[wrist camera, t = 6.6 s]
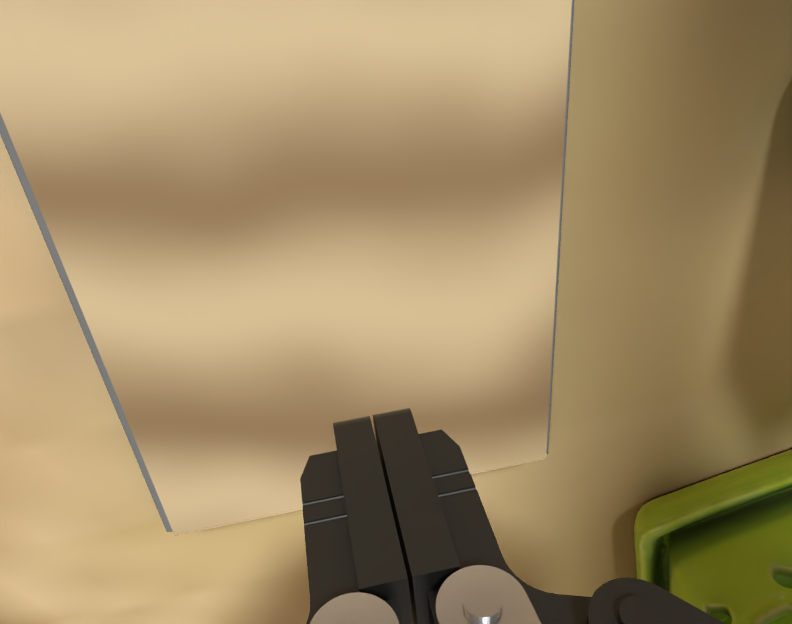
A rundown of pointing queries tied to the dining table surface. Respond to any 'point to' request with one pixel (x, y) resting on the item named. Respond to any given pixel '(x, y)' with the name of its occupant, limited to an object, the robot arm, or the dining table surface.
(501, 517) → the dining table surface
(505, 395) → the oak plank
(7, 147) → the underlay
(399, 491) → the robot arm
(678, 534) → the flower pot
